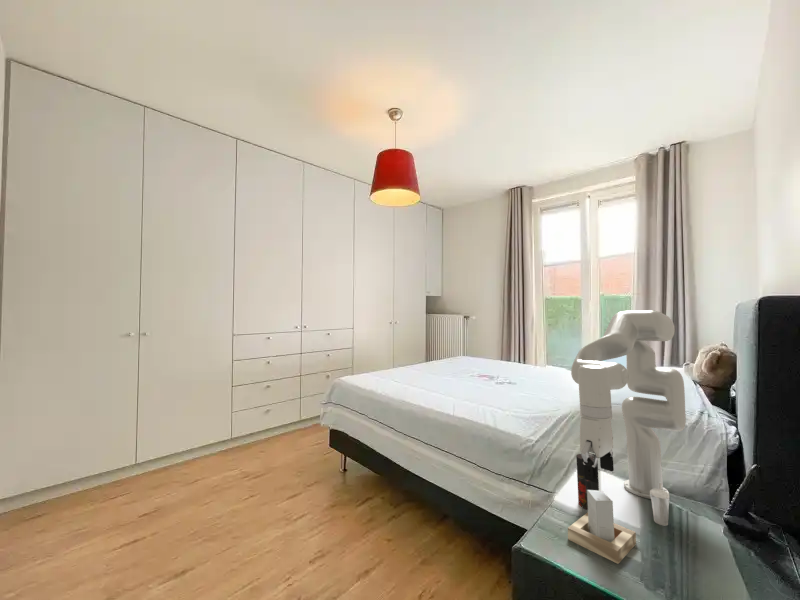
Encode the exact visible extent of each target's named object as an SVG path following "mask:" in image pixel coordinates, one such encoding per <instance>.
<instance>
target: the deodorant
mask: <svg viewBox="0 0 800 600" xmlns="http://www.w3.org/2000/svg"><path fill="white" fill-rule="evenodd" d="M575 457H576V473H577V474H576V476H577V499H578V506H579V507H580V508H582V509H584V510H587V511H588V499H587V490H598V491H600V485H599V482H600V481H599V479H598V481H599V482H598V483H594V482H591V481H589V480H586V479H585V474H584V464H583V460H582V455H581V453H577V454H576V456H575ZM589 458H590V459H591V460H592V461H593V458H592V457H589ZM598 462H599V461H598V460H597V464H596V467H598V468H599V463H598Z"/></svg>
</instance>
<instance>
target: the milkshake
mask: <svg viewBox="0 0 800 600" xmlns="http://www.w3.org/2000/svg"><path fill="white" fill-rule="evenodd" d="M650 496H651V499H650V500H651V508H652V514H653V521H654V522H655V523H656V525H659V526H665V527H666V526H668V525H669V511H670V510H669V506H670V493H669V494H668V493H667V492H665V491H663V490H661V483H659V489H652V490H650Z"/></svg>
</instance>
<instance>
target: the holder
mask: <svg viewBox="0 0 800 600" xmlns="http://www.w3.org/2000/svg"><path fill="white" fill-rule="evenodd" d="M636 533H637V532H636V531H634V530H632V529H629V528H627V527H624V526H622V525H620V524H617V523H615V522H614V540H613V541H612V542H609V541H606V540H604V539H602V538H600V537H598V536H595V535H593V534H591V533H589V524H588V511H587V512H586V513H585V514H583V516H581V517H580V518H578V519H577V520H576V521H575V522H573V523H572V524H571V525H569V526H568V527H567V540H568V541H571V542H573V543H575V544H576V545H579V546H581V547H582V548H584V549H586V550H589V551H591V552H593V553H595V554H597V555H599V556H601V557H602V558H604V559H607V560H609V561H611V562H614V563H615V564H617V565H619V564H620V563H621V562H622V561H623V560H624V559H625V557H626V556H627V555H628V554H629V553H630V552H631V550H632V549H634V548H635V546H636V545H637V534H636Z"/></svg>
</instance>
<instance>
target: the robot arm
mask: <svg viewBox="0 0 800 600" xmlns="http://www.w3.org/2000/svg"><path fill="white" fill-rule="evenodd" d="M675 329H676V328H675V324H674V322H673V320H672V318H671V317H669V316H668V315H666V314H664V313H663V312H660V311H658V310H652V309H648V310H642V309H641V310H622V311H619V312H616V313H615V314H613V316H612V317H611V319H610V321H609V322H608V324H607V327H606V329H605V331H604V333H603V336H601V337H600V338H598V339H595V340H593V341H592V342H590V343H588V344H587V345H584V346H583V347H582V348H581V349H580V350H579V351H578V353H577V354H576V356H575V359H574V360H573V363H572V365H571V370H570V374H571V378H572V380H573V381H574V382H575V383H576V384H578V392H579V394H578V396H579V411H580V416H581V417H580V425H579V451H580V454H581V455H582V460H583V464H584V474H585V479H586V480H589V481H591V482H594V483H598V482H600V481H598V480H599V466H600V468H601V469H603V470H605V471H609V472H614V469H615V468H614V451H613V448H614V441H613V440H614V436H613V429H612V422H611V420H612V419H613V410H612V406H613V405H612V394H611V392H612V391H613V390H616V391H617V390H621V389H623V388H624V387H626V385H627V388H628V389H629V391H632V392H634V393H637V394H645V395H652V396H657V397H658V396H659V397H664V398H665V399H666V400H663V399H656V398H649V397H644V396H643V397H642V396H641V397H640V396H630V397H629V396H627V397H626V398H625V399H623V401H622V403H621V412H622V416H623V420H624V426H625V432H626V436H625V437H626V449H627V453H626V454H627V468H628V469H627V471H628V479H626V480H624V482H623V487H624V489H625V490H627V492H629V493H632V494H634V495H635V496H638V497H641V498H644V499H649V500H651V496H650V490H652V489H659V483H661V490H663V491H665V492H667V493H668V494H669V495H670V492H669V491H668V489H667V488H665V487H664V485H663V484H664V483H663V471H662V470H663V468H662V467H663V466H662V465H663V464H662V454H661V452H662V450H661V441H660V438H659V436H658V435H657V434H656V433H657V432H655V431H654V430H653V429H659V430H663V431H669V432H676V433H677V432H679V433H680V432H682V431H683V430H684V429H685V428H686V423H687V421H686V419H687V418H686V413H687V412H686V394H685V393H686V392H685V382H684V378H683V376H682V374H681V372H680V371H678V370H677V369H674V368H669V367H658V366H657V364H656V363H657V362H656V352H655V351H654V349H653V348H652V347H651V345H650V344H649V343H648V342H669V341H670V340H672V339H673V338H674V335H675V331H676V330H675ZM624 356H626V366H624V365H623V364H621V363H619V362H616V361H615V362H613V361H608V360H612V359H613V360H614V359H617V358H621V357H624ZM589 457H592V458H593V461H592V460H591V459H590V458H589ZM598 459H599V466H598V467H596V464H597V460H598Z"/></svg>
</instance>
